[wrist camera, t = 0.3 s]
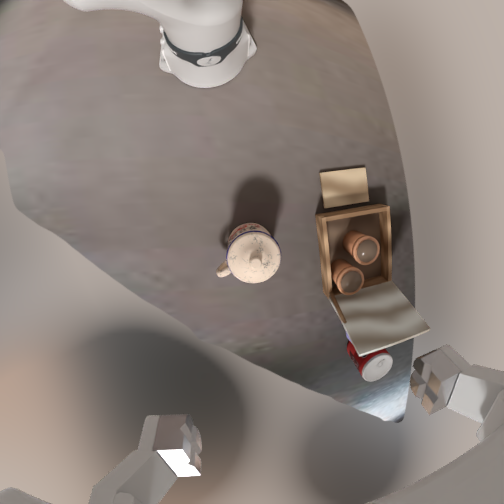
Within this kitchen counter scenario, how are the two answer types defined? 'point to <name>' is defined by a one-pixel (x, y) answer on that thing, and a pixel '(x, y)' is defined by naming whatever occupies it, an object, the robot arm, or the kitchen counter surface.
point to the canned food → (371, 363)
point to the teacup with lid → (251, 254)
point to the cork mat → (344, 187)
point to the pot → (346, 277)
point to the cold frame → (367, 281)
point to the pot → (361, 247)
